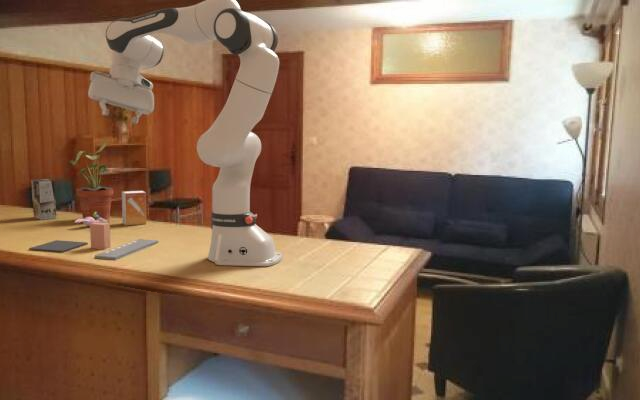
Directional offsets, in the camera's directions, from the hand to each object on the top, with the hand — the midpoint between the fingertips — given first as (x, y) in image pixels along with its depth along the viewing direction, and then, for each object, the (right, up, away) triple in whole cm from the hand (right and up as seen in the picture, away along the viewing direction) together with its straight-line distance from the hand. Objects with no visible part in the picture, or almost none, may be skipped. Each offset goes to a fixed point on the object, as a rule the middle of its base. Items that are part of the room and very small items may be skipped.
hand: (120, 119), depth 162 cm
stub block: (-8, -41, +3) cm, 42 cm away
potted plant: (-31, -34, +51) cm, 69 cm away
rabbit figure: (-26, -36, +38) cm, 59 cm away
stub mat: (-21, -41, +3) cm, 46 cm away
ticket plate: (+2, -42, +1) cm, 42 cm away
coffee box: (-53, -33, +54) cm, 82 cm away
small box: (-12, -36, +45) cm, 58 cm away
